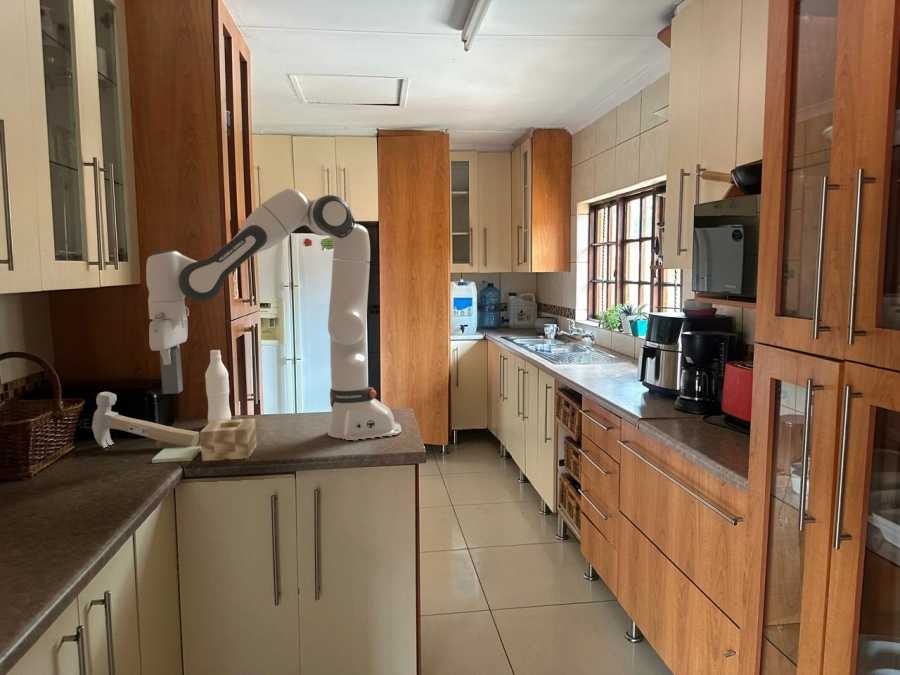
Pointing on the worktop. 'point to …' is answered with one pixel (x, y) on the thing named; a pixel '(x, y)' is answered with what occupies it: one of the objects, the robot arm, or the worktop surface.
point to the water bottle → (217, 389)
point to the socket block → (228, 439)
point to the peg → (172, 373)
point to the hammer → (134, 426)
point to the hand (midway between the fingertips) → (171, 362)
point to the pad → (177, 454)
